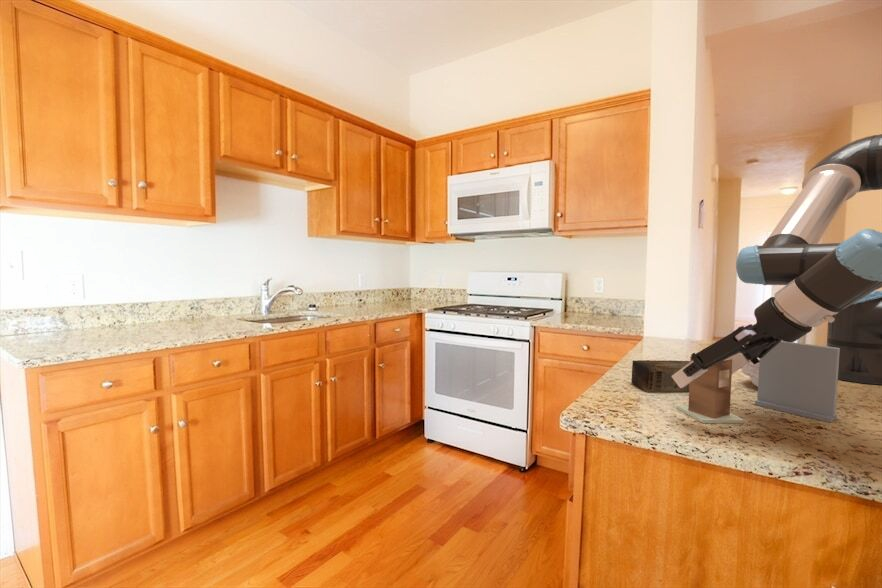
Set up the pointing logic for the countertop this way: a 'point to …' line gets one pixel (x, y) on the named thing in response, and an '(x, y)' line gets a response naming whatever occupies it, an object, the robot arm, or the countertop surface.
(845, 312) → the robot arm
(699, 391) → the brown tall rectangular block
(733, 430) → the countertop surface
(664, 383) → the beverage carton
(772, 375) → the slate panel
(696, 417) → the sage tile
